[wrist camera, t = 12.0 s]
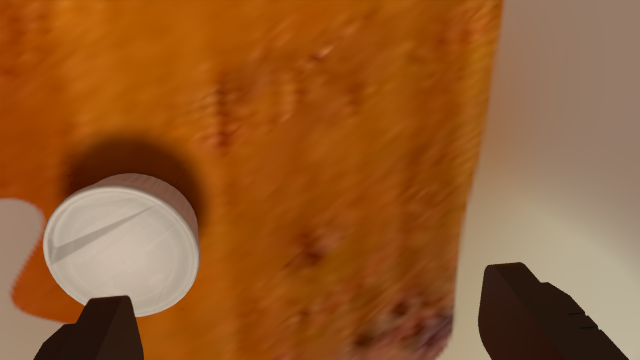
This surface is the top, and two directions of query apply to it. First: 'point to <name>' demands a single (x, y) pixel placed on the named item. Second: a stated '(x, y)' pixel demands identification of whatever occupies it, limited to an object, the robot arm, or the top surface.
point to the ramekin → (124, 242)
